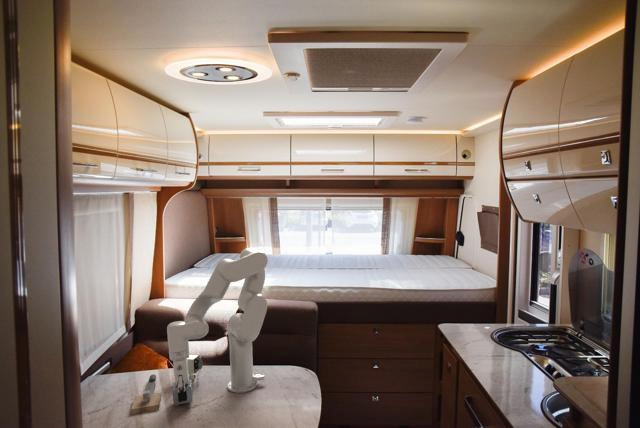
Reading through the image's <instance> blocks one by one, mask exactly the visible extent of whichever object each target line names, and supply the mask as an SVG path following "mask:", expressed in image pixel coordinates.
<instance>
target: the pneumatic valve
mask: <svg viewBox="0 0 640 428" xmlns="http://www.w3.org/2000/svg"><path fill="white" fill-rule="evenodd" d="M187 359H188V369H189V379H192V381H195V380H196V377H197V376H196V374H197V372H199V370H202V368H203V364H204V361H203V359H201V355H199V354H198V355H197V354H190V353H189V357H187Z"/></svg>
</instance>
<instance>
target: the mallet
mask: <svg viewBox="0 0 640 428" xmlns="http://www.w3.org/2000/svg"><path fill="white" fill-rule="evenodd" d="M156 381H157V376H156V374H151V375H150V376H149V378H148V381H147V384H146V388H145V390H144V391H143V392H142V394H141V395H135V397H134V399H133V402H132V406H131V408H130V410H131V411H130V413H131V415H133V414H139V413H140V414H141V413H146V412H151V410H152V411H157V410H156V409H158V410H160V409H159V408H160V407H161V403H160V402H162V398H161V397H163V396H162V392H155V388H156Z"/></svg>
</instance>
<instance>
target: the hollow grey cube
mask: <svg viewBox="0 0 640 428" xmlns="http://www.w3.org/2000/svg"><path fill="white" fill-rule="evenodd" d="M192 382H193V380H192V379H189V383H188V384H187V383H185V390H186V393H187V401H182V402H178V385H176V383H175V381H173V382H172V383H173V384H172V392H171V393H172V401H173V406H178V405H182V404H189V403H192V402H193V398H194V397H193V396H194V395H193V394H194V393H193V383H192ZM182 383H184V381H183V382H182ZM183 387H184V385H183Z"/></svg>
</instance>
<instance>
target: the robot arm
mask: <svg viewBox="0 0 640 428" xmlns="http://www.w3.org/2000/svg"><path fill="white" fill-rule="evenodd" d="M268 259H269V258H268V255H267V254H266V253H265V252H264V251H261V250H258V249H255V248H251V247H248V248H247V247H246V248H244V249H243V250H241V252H240V254H239V258H237V259H235V260H234V259H231V258H223V259H221V260H219V261H218V262H217V264H216V266H215V268H214V269H213V272H212V273H211V276H210V278H209V279H208V281H207V284H206V285H205V287H204V289H203V291H202V292H201V293H200V294H199V295H198V296H197V297H196V299H194V301H193V302H192V304H191V305H190V307H189V309H188V311H187V313H186V315H185V316H184V320H178V321H177V320H176V321H173V322H170V323H169V324H168V325H167V326H166V333H167V345H168V355H169V360H170V361H172V362H173V365H172V366H173V373H174V375H173V376H174V382H175V383H176V385H178V402H182V401H187V393H186V390H185V383H187V384H188V383H189V369H188V359H187V357H189V355H190V347H189V346H190V344H189V343H190V342H189V341H190V340H198V339H202V338H204V337H205V336H207V334H208V333H209V329H210V327H209V324H208V323H207V322H206V321H205V320H204V318H205V316H206V314H207V312H208V311H209V309H210V308H211V307H212V306H213V305H215V304H216V303H219V302H220V301H222V300H223V299H224V297H225V295H226V293H227V291H228V289H229V287H230V285H231V284H232V283H236V282H239V281H242V280H244V281H243V284H242V288H241V291H240V293H239V296H238V300H237V306H238V307H239V309H240V310H241V311H243V313H241V312H239V313H234V314H232V315H231V316H230V317H229V319H228V320H227V323H226V324H227V326H226V327H227V329H226V330H227V335H228V342H229V362H230V381H229V382H228V383H227V390H228V391H230V392H231V393H235V394H243V393H248V392H250V391H252V390H254V389H256V387H257V386H258V381H264V380H265V375H264V374H263V375H261V373H258V374H255V373H254V365H253V364H254V362H253V360H254V359H253V342H255V340H256V339H257V338H258V336H259V335H260V332H261V329H262V327H263V324H264V320H265V317H266V315H267V311H268V301H267V298H266V297H265V296H264V295H263V294H262V291H263V288H264V285H265V281H266V271H265V270H266V269H265V268H266V267H267V266H268V262H269V260H268ZM183 381H184V383H182V382H183ZM183 385H184V387H183Z"/></svg>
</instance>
